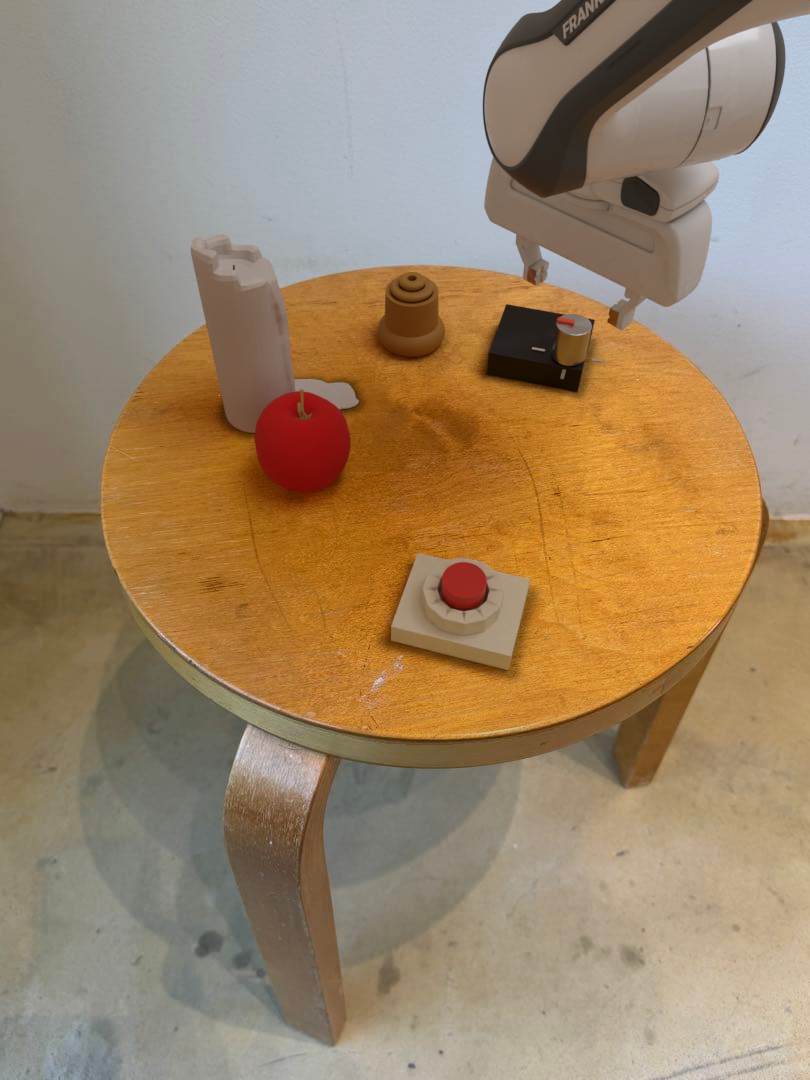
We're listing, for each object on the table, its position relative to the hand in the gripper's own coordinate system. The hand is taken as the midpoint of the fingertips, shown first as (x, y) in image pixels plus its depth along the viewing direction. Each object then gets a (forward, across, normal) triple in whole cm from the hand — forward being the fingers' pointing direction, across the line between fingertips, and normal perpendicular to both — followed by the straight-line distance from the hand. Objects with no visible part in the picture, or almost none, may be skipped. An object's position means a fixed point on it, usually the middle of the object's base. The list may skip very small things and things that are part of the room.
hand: (575, 301), depth 76 cm
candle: (+15, -22, -17) cm, 31 cm away
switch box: (+15, +9, -24) cm, 30 cm away
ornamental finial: (+15, -20, 0) cm, 25 cm away
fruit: (+15, -13, -22) cm, 30 cm away
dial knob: (+12, -4, +7) cm, 14 cm away
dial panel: (+15, -7, +7) cm, 18 cm away
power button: (+11, +9, -24) cm, 28 cm away
